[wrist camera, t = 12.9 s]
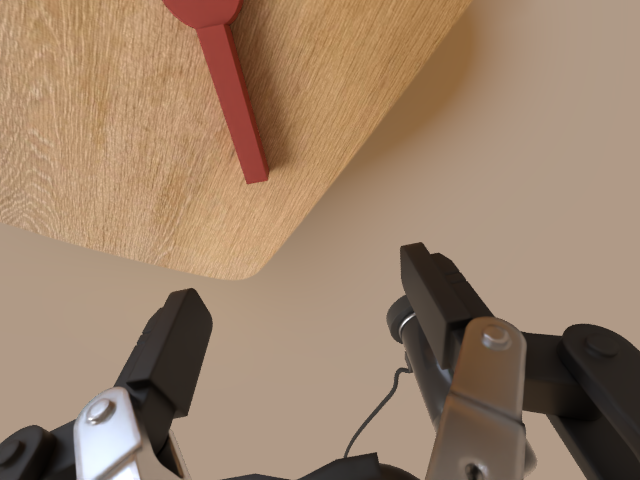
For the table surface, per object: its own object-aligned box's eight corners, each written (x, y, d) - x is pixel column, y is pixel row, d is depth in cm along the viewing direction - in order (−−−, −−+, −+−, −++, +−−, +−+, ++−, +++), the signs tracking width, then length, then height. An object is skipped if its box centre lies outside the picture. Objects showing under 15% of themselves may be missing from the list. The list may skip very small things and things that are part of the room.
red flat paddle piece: (288, 167, 31) (287, 177, 29) (231, 178, 31) (227, 187, 29) (228, -90, 20) (221, -105, 18) (141, -72, 20) (123, -85, 18)
